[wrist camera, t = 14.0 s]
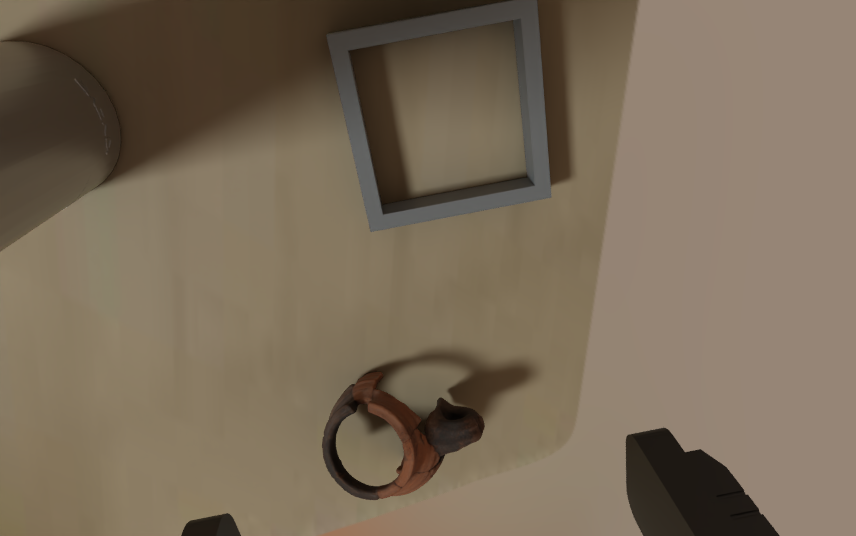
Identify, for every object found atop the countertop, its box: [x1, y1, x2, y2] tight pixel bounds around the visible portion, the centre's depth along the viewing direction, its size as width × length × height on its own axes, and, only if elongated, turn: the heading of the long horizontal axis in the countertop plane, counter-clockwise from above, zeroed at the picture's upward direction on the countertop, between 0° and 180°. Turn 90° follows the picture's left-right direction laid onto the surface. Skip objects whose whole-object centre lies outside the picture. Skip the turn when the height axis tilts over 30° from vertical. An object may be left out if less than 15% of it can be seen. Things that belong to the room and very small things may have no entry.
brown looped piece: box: [322, 372, 485, 500], centre depth 43 cm, size 12×10×8 cm
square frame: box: [326, 0, 551, 232], centre depth 35 cm, size 12×12×2 cm
